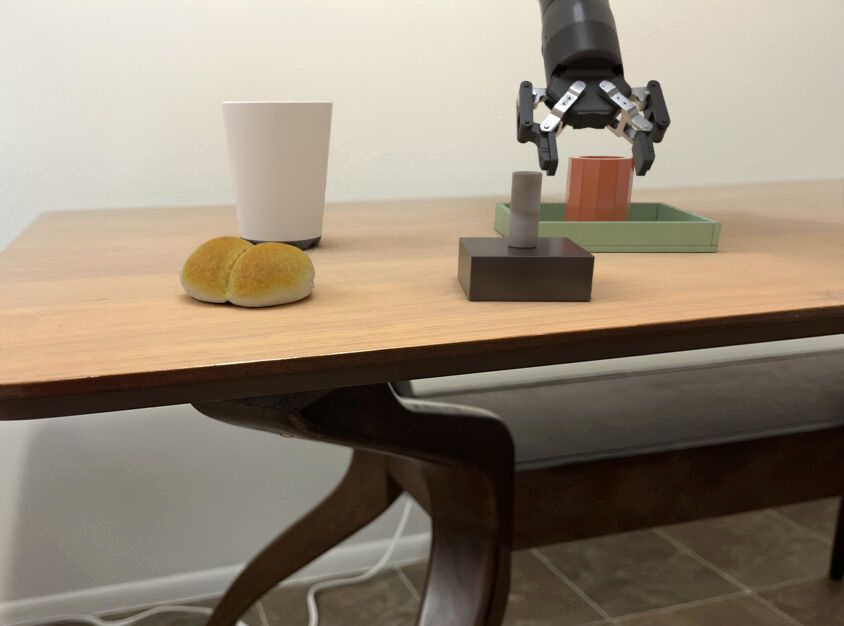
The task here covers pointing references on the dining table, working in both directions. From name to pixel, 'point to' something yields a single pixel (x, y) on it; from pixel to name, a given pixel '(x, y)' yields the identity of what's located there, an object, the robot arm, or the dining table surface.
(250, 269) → the bread roll
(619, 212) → the reddish-brown round cylinder
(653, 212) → the tray
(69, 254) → the dining table surface
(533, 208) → the ring holder
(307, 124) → the cup
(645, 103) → the robot arm
